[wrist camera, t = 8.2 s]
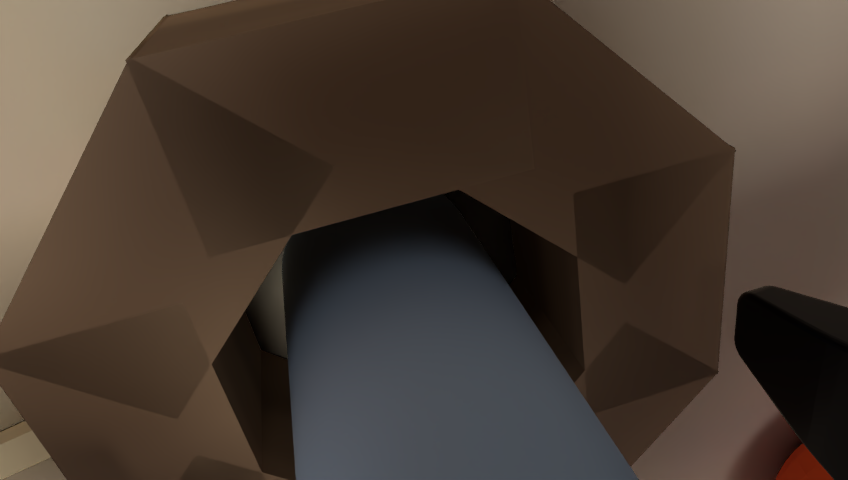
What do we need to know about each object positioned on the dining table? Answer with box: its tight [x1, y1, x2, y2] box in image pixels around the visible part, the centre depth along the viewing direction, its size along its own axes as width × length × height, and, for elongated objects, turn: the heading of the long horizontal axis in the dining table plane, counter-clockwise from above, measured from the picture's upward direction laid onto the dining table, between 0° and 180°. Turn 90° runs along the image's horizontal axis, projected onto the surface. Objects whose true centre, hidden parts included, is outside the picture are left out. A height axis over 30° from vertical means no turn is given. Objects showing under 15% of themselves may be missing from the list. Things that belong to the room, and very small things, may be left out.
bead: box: [0, 0, 736, 480], centre depth 10 cm, size 10×10×3 cm
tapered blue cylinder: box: [282, 194, 639, 480], centre depth 8 cm, size 4×4×9 cm
